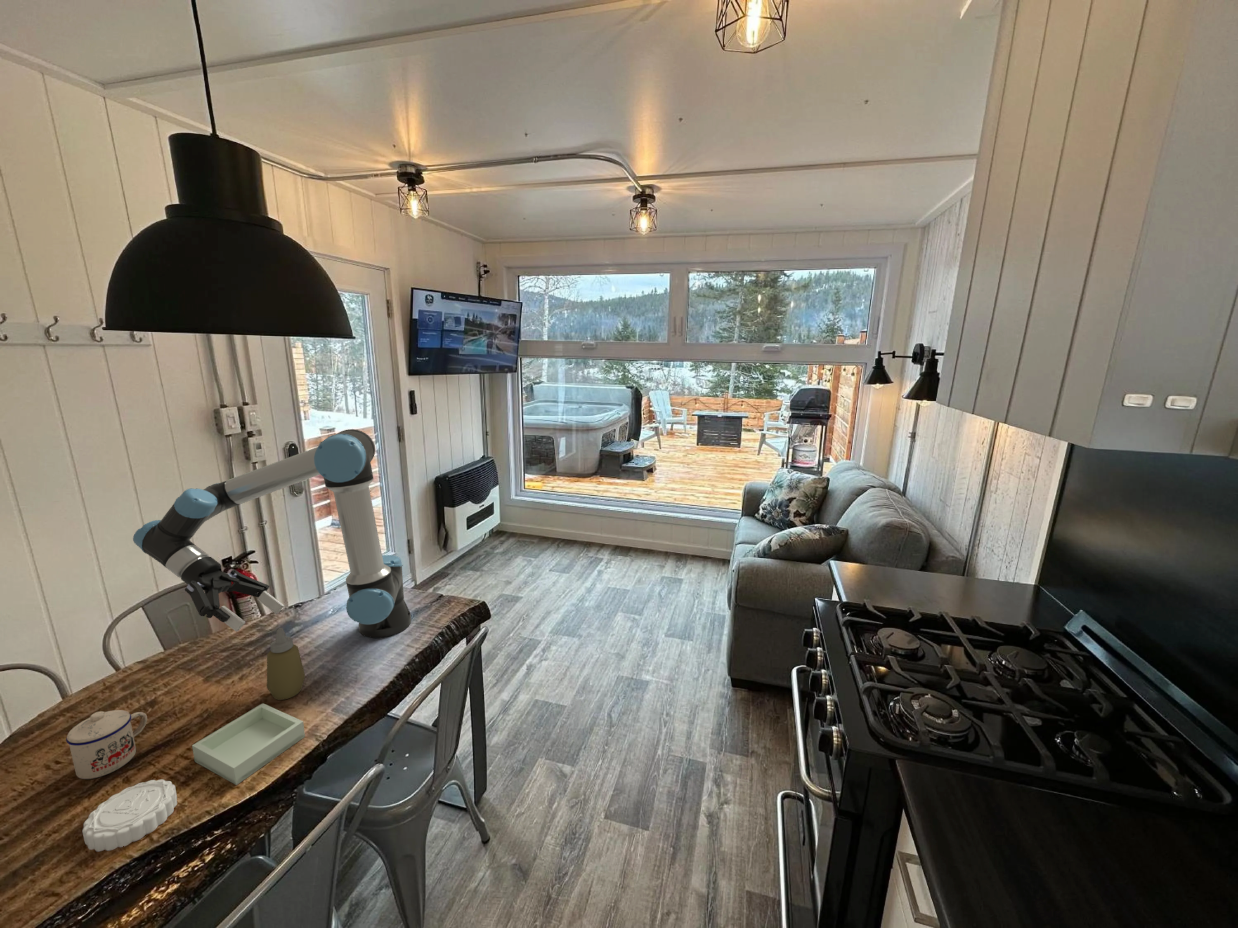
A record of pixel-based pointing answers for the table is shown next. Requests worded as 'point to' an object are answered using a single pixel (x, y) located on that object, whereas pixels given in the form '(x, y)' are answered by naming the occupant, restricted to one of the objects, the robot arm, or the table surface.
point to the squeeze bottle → (284, 667)
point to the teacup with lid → (103, 742)
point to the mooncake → (129, 815)
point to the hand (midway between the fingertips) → (261, 617)
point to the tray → (248, 743)
